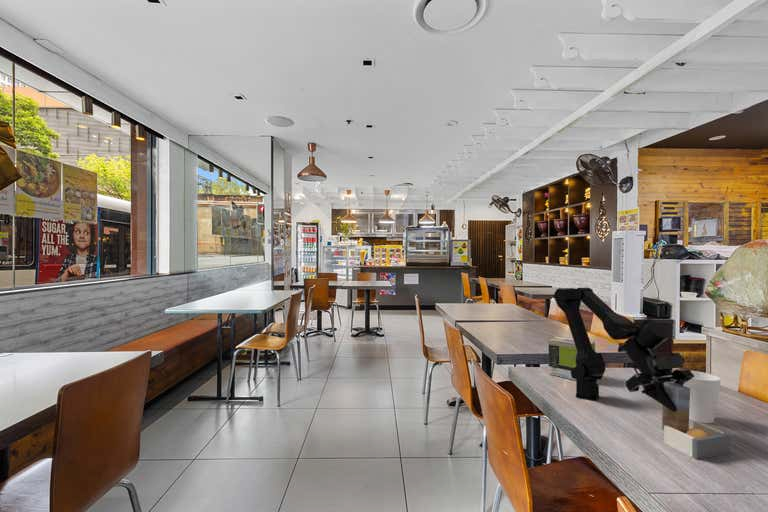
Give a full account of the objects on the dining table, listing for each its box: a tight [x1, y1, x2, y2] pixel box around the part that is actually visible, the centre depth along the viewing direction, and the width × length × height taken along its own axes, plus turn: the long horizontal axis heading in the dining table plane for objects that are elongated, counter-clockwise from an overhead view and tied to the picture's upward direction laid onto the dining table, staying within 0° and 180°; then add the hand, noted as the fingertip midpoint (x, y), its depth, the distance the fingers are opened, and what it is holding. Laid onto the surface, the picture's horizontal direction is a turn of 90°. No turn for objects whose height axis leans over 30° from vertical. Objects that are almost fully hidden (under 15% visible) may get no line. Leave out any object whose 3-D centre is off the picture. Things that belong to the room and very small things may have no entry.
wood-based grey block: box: [661, 383, 690, 434], centre depth 99 cm, size 4×4×12 cm
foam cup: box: [683, 370, 721, 424], centre depth 111 cm, size 10×9×13 cm
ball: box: [686, 427, 708, 438], centre depth 93 cm, size 5×5×5 cm
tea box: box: [547, 336, 596, 381], centre depth 151 cm, size 15×10×15 cm
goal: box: [663, 420, 731, 460], centre depth 94 cm, size 8×11×4 cm
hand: (681, 410), depth 97 cm, fingers closed on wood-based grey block, 4 cm apart
